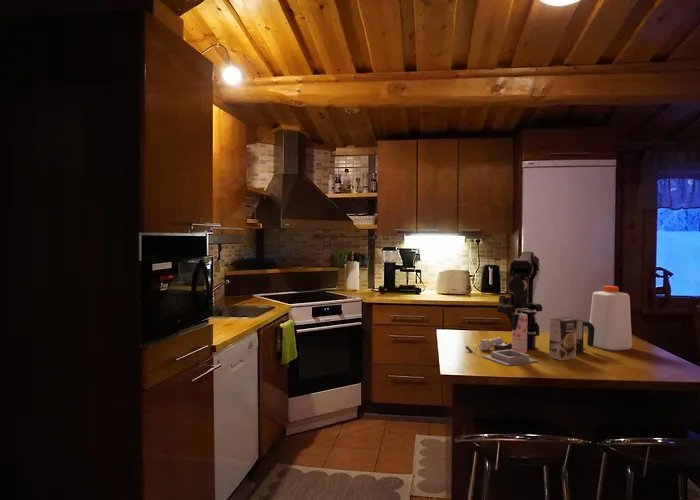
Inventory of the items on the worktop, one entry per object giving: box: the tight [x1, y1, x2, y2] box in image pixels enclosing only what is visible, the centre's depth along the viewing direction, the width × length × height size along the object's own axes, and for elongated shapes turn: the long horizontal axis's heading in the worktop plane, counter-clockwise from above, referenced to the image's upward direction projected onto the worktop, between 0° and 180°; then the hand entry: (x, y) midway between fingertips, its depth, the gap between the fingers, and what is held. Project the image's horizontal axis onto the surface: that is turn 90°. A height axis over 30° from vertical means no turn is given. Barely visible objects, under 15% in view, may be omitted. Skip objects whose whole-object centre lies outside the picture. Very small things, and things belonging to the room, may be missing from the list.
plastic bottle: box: [589, 285, 633, 352], centre depth 213 cm, size 15×15×28 cm
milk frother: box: [560, 316, 595, 355], centre depth 207 cm, size 14×16×15 cm
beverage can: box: [511, 312, 528, 354], centre depth 186 cm, size 6×6×15 cm
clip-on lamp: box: [464, 336, 512, 354], centre depth 200 cm, size 12×6×18 cm
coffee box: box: [548, 317, 577, 361], centre depth 192 cm, size 9×6×16 cm
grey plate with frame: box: [481, 349, 539, 367], centre depth 188 cm, size 16×14×2 cm
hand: (519, 329), depth 186 cm, fingers closed on beverage can, 6 cm apart
